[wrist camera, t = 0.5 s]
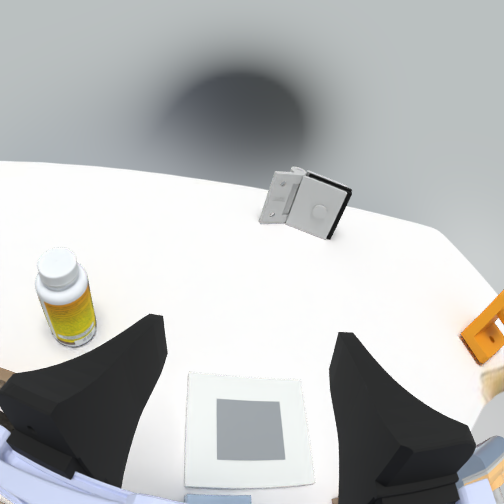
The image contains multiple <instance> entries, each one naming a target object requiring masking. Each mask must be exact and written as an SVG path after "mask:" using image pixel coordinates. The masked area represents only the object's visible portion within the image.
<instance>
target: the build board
mask: <svg viewBox="0 0 504 504" xmlns="http://www.w3.org/2000/svg"><path fill="white" fill-rule="evenodd" d="M314 483H315V475H314V467H313V460H312V452H311V445H310V438H309V431H308V424H307V417H306V410H305V403H304V396H303V390H302V383H301V379H275V378H255V377H240V376H228V375H217V374H207V373H197V372H189V376H188V393H187V414H186V441H185V487H195V488H214V489H259V488H279V487H292V486H302V485H311V484H314Z"/></svg>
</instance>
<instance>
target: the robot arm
mask: <svg viewBox="0 0 504 504" xmlns="http://www.w3.org/2000/svg"><path fill="white" fill-rule="evenodd" d="M167 354H168V353H167V345H166V338H165V330H164V321H163V316H161V315H154V314H149V315H147V316H145V317H144V318H142V319H141V320H139V321H138V322H136V323H135V324H134V325H132V326H131V327H129V328H128V329H126V330H125V331H123V332H122V333H120V334H119V335H117V336H116V337H114V338H112V339H111V340H109V341H107V342H106V343H104V344H102V345H101V346H99V347H97V348H95V349H94V350H92V351H90V352H88V353H85V354H83V355H81V356H79V357H77V358H74V359H71V360H69V361H66V362H63V363H61V364H58V365H54V366H51V367H47V368H43V369H39V370H34V371H28V372H22V373H14V374H12V376H11V377H10V378H9V379H8V380H7V381H6V383H5V384H4V385H3V386H2V387H1V389H0V407H1V409H2V410H3V412H4V413H5V415H6V416H7V418H8V419H9V421H10V422H11V424H12V425H13V427H14V428H15V429H14V430H13V431H12V433H10V432H9V431H8V430H7V429H6V428H4V427H3V426H1V425H0V494H1V495H2V496H3V497H5V498H6V499H8V500H9V501H11V502H12V503H14V504H188V503H183V502H178V501H173V500H169V499H165V498H161V497H157V496H152V495H147V494H141V493H138V494H137V493H134V492H130V491H127V490H124V489H121V486H122V480H123V475H124V471H125V466H126V462H127V458H128V454H129V451H130V447H131V444H132V440H133V437H134V434H135V431H136V428H137V425H138V422H139V419H140V416H141V414H142V412H143V409H144V407H145V405H146V403H147V401H148V399H149V397H150V395H151V393H152V391H153V389H154V387H155V385H156V383H157V381H158V379H159V377H160V374H161V372H162V369H163V366H164V363H165V360H166V357H167ZM329 377H330V392H331V398H332V403H333V409H334V415H335V420H336V426H337V432H338V441H339V497H338V504H496V501H495V498H494V495H493V492H492V489H491V486H490V483H489V481H488V479H486V478H485V479H482V480H480V481H477V482H474V483H470V484H467V485H465V486H462V487H461V488H459V489H457V487H456V484H455V483H457V482H458V481H459V477H458V474H457V472H458V471H459V470H460V469H461V467H462V466H463V465H464V464H465V463H466V462H467V461H468V460H469V459H470V457H471V456H472V455H473V453H474V451H475V449H476V444H475V442H474V439H473V436H472V434H471V432H470V429H469V427H468V426H467V425H465V424H463V423H460V422H458V421H456V420H453V419H451V418H449V417H447V416H445V415H443V414H441V413H439V412H437V411H436V410H434V409H432V408H431V407H429V406H427V405H426V404H424V403H423V402H421V401H420V400H418V399H417V398H416V397H414V396H413V395H412V394H410V393H409V392H408V391H407V390H405V389H404V388H403V387H402V386H401V385H399V384H398V383H397V382H396V381H395V380H394V379H393V378H392V377H391V376H390V375H389V374H388V373H387V372H386V371H385V370H384V369H383V368H382V367H381V366H380V365H379V364H378V362H377V361H376V360H375V359H374V358H373V357H372V356H371V354H370V353H369V352H368V351H367V349H366V348H365V347H364V346H363V344H362V343H361V342H360V341H359V339H358V338H357V337H356V336H355V335H354V333H348V332H338V337H337V341H336V345H335V349H334V353H333V357H332V360H331V364H330V368H329Z"/></svg>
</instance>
